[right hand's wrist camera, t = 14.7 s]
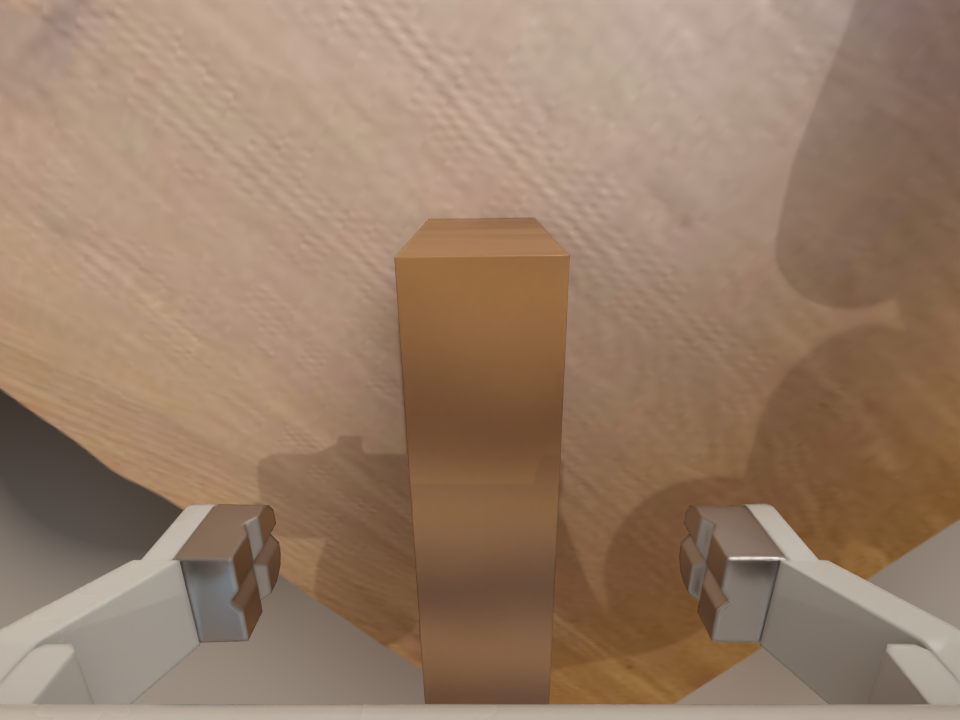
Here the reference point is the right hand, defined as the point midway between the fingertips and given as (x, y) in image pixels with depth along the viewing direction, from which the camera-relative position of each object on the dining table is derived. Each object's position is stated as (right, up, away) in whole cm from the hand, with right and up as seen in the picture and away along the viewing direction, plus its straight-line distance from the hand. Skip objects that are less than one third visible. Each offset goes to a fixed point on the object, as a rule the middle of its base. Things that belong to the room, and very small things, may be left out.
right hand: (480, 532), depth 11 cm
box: (0, -1, +23) cm, 23 cm away
